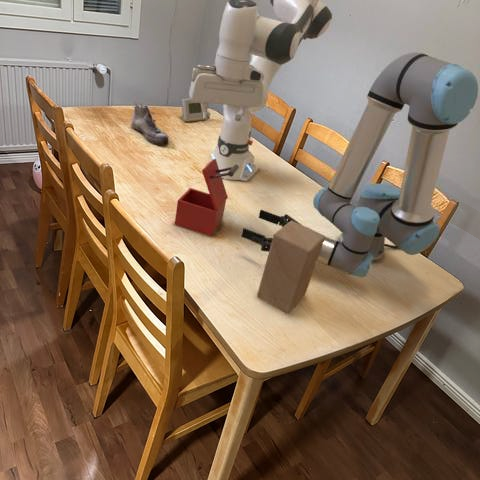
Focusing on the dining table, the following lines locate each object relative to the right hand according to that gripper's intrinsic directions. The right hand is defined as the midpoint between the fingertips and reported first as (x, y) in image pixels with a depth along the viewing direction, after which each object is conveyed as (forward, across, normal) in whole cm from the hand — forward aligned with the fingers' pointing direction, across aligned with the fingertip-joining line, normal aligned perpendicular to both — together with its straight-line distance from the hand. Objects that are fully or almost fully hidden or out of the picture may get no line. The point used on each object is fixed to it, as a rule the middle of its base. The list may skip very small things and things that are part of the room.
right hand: (251, 222), depth 133 cm
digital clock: (+68, +88, -8) cm, 112 cm away
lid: (+14, +1, +7) cm, 16 cm away
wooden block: (-18, -18, -8) cm, 26 cm away
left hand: (+15, +1, +28) cm, 31 cm away
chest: (+17, 0, -8) cm, 19 cm away
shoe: (+70, +51, -8) cm, 87 cm away
